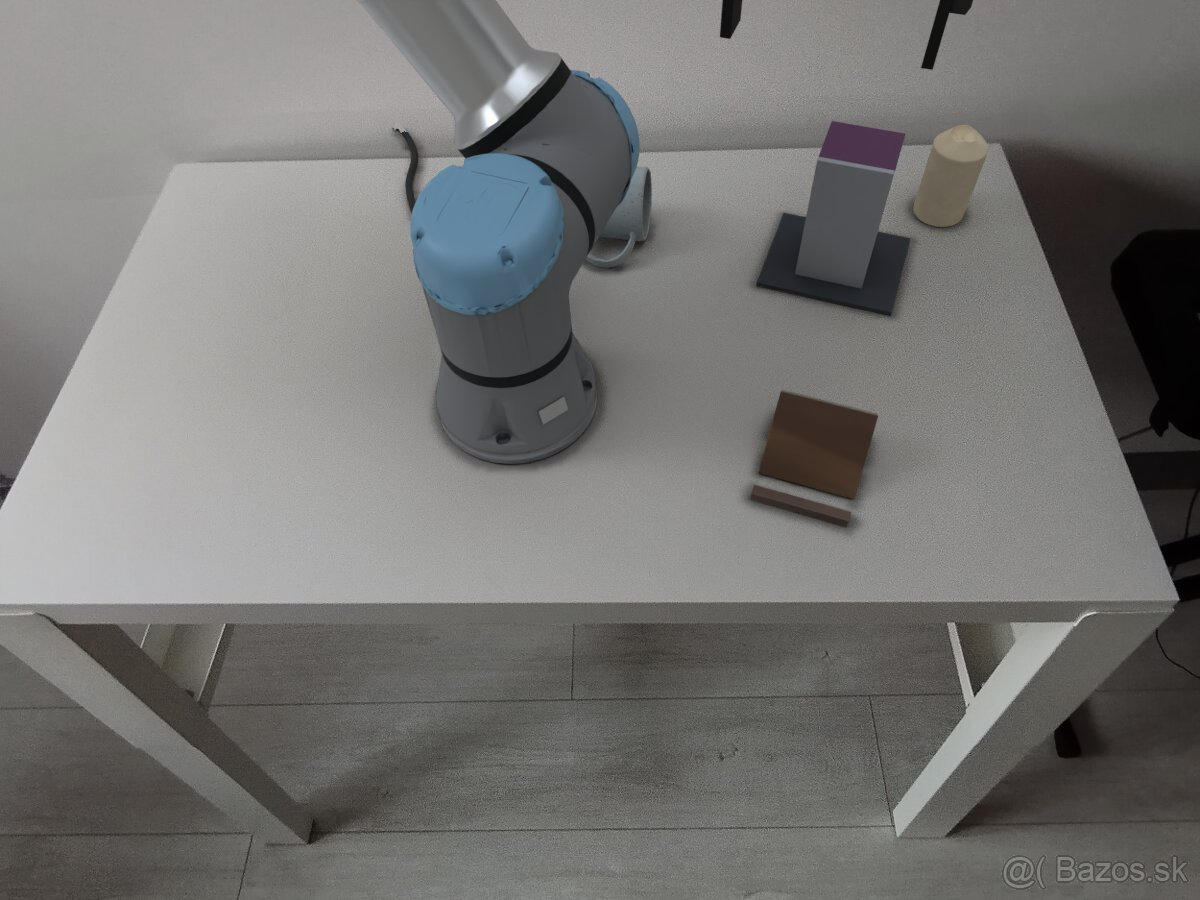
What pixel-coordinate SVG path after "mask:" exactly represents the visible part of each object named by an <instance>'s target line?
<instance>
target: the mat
mask: <svg viewBox="0 0 1200 900" xmlns="http://www.w3.org/2000/svg"><path fill="white" fill-rule="evenodd" d="M805 220H806V216H802V215H797V214H792V213H788V212H783V213H782V216H781V219H780V221H779V224H778V226H777V229H776V232H775V235H774V237H773V239H772V242H771V245H770V246H769V249H768V252H767V255H766V258H765V260H764V262H763V265H762V267H761V270H760V273H759V276H758V278H757V281H756V287H759V288H761V287H762V288H765V289H769V290H774V291H779V292H783V293H787V294H792V295H797V296H799V297H800V296H801V297H806V298H810V299H814V300H818V301H823V302H826V303H827V302H829V303H832V304H837V305H841V306H846V307H849V308H855V309H859V310H863V311H867V312H872V313H877V314H881V315H886V316H892V314H893V310H894V306H895V302H896V298H897V294H898V290H899V286H900V283H901V282H900V281H901V277H902V273H903V269H904V265H905V261H906V257H907V254H908V249H909V245H910V241H911V237H908V236H902V235H897V234H892V233H887V232H882V231H878V233H877V236H876V240H875V243H874V247H873V250H872V254H871V257H870V261H869V264H868V268H867V271H866V275H865V278H864V282H863V286H862V288H861V289H860V288H856V287H851V286H847V285H842V284H837V283H833V282H828V281H824V280H819V279H814V278H810V277H805V276H801V275H796V274H795V271H796V266H797V261H798V256H799V251H800V246H801V241H802V235H803V230H804V225H805Z"/></svg>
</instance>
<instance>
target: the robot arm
mask: <svg viewBox="0 0 1200 900" xmlns="http://www.w3.org/2000/svg"><path fill="white" fill-rule="evenodd" d="M357 1H358V4H360V5H361V6H362V8H363V9H364V10H365V12H366V13H367V14H368V15H369V16H370V18H371V19H372V20H373V21H374V23H376V25H377V26H378V27H379V29H380V30H381V31H382V32H383V33H384V34H385V36H386V37H387V38H388V40H389V41H391V43H392V44H393V45H394V46H395V48H396V49H397V50H398V52H400V54H401V55H402V56H403V57H404V59H405V60H406V61H407V63H408V64H410V66H411V68H412V69H414V71H415V72H416V73H417V75H419V77H420V78H421V79H422V81H423V82H424V83H425V85H427V87H428V88H429V89H430V90H431V91H432V93H433V94H434V95H435V96H436V97H437V98H438V99H439V101H440V102H441V103H442V104H443V106H444V107H445V108H446V110H448V112H449V113H450V114H451V115H452V118H453V120H454V135H453V136H454V139H453V140H454V143H453V144H454V147H455V148H456V149H457V151H458V152H459V153H460V155H462V157H463V158H464V161H463V165H461V166H457V165H454V164H450V165H448V166H446V167H445V168H443V169H442V170H440V171H439V172H438V173H437V174H436V175H435V176H433V178H431V179H430V180H429V181H428V182H427V183H426V185H425V186H424V187H423V188H422V190H421V191H420V193H419V195H418V197H417V198H416V200H415V194H414V178H415V175H416V171H417V168H418V164H419V152H418V148H417V145H416V143H415V140H414V139H413V137H412V135H411V134H410V132H409V131H408V132H405V131H404V132H402V133H400V135H401V134H402V135H401V136H402V137H403V139H404V140H405V142H406V145H407V146H408V148H409V151H410V155H411V156H410V163H409V167H408V170H407V173H406V177H405V195H406V201H407V204H408V207H409V210H410V212H411V216H410V224H409V232H410V239H411V240H410V241H411V244H412V255H413V257H412V259H413V265H414V268H415V271H416V275H417V278H418V280H419V282H420V284H421V287H422V290H423V293H424V297H425V301H426V304H427V307H428V311H429V315H430V317H431V321H432V324H433V327H434V332H435V334H436V339H437V341H438V345H439V348H440V352H441V359H440V364H439V371H438V378H437V380H436V381H437V382H436V386H435V405H436V410H437V413H438V414H437V415H438V417H439V420H440V423H441V426H442V428H443V430H444V432H445V433H446V436H447V437H448V438H449V439H450V441H452V443H454V445H456V447H458V448H459V449H460V450H463V452H465V453H466V454H469V455H470V456H472V457H475V458H477V459H480V460H483V461H486V462H490V463H496V464H503V465H505V464H506V465H515V464H526V463H527V464H528V463H531V462H537V461H540V460H543V459H546V458H548V457H551V456H554V455H556V454H557V453H560V452H562V451H563V450H566V448H568V447H569V446H570V445H572V444H573V443H574V442H576V441H577V440H578V438H580V437H581V436H582V435H583V433H584V432H585V431H586V430H587V428H588V427H589V425H590V424H591V422H592V420H593V418H594V416H595V412H596V410H597V404H598V387H597V379H596V374H595V370H594V368H593V366H592V363H591V360H590V359H589V357H588V356H587V354H586V352H585V351H584V349H583V347H582V345H581V343H580V342H579V340H578V339H577V337H576V336H575V333H574V332H573V326H572V325H573V324H572V316H571V315H572V313H571V303H570V292H571V287H572V284H573V282H574V279H575V278H576V276H577V274H578V273H579V272H580V269H581V267H582V266H583V264H584V263H585V261H586V260H587V259H586V257H587V255H588V254H589V253H591V251H592V250H593V248H594V247H595V244H596V242H597V241H598V239H599V238H600V237H599V236H600V234H601V233H602V231H603V229H604V228H605V226H606V224H607V223H608V221H609V219H610V218H611V216H612V214H613V213H614V211H615V209H616V208H617V206H618V205H619V204H620V203H621V202H622V201H623V199H624V198H625V196H626V194H627V191H628V189H629V186H630V183H631V179H632V177H633V175H634V173H635V170H636V168H637V167H638V163H639V159H640V151H641V144H640V135H639V129H638V126H637V122H636V119H635V117H634V114H633V113H632V110H631V109H630V107H629V105H628V103H627V101H626V100H625V99H624V98H623V96H622V95H621V94H620V93H619V92H618V91H617V89H615V87H614V86H612V85H611V84H610V83H609V82H607V81H606V80H605V79H603V78H601V77H596V78H595V77H591V75H590V73H589V72H587V71H583V70H579V69H570V67H569V66H568V65H567V63H566V62H565V61H564V59H563V58H562V57H561V54H560V53H558V52H554V51H547V50H540V49H536V48H534V47H532V46H530V45H529V43H528V42H527V40H526V39H525V38H524V37H523V35H522V33H521V32H520V31H519V29H518V28H517V27H516V25H515V24H514V22H513V21H512V20H511V18H510V17H509V16H508V15H507V13H506V11H505V10H504V9H503V8H502V6H501V5H500V3H499V2H498V1H497V0H357ZM973 3H974V0H939V2H938V6H937V9H936V13H935V16H934V20H933V25H932V27H931V30H930V34H929V38H928V41H927V45H926V48H925V52H924V55H923V59H922V62H921V66H920V69H922V70H923V69H925V70H929V71H933V70H934V67H935V63H936V61H937V60H936V59H937V58H938V57H937V56H938V53H939V50H940V46H941V44H942V40H943V36H944V34H945V29H946V26H947V23H948V19H949V15H950V14H953V15H954V14H955V15H960V16H961V15H963V16H966V15H967V13H968V12H969V11H970V10H971V8H972V5H973ZM742 9H743V0H722V2H721V14H720V15H721V17H720V28H719V38H721V39H729V40H731V38H733V35H734V33H735V31H736V29H737V27H738V25H739V23H740V22H741V19H742Z"/></svg>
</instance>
